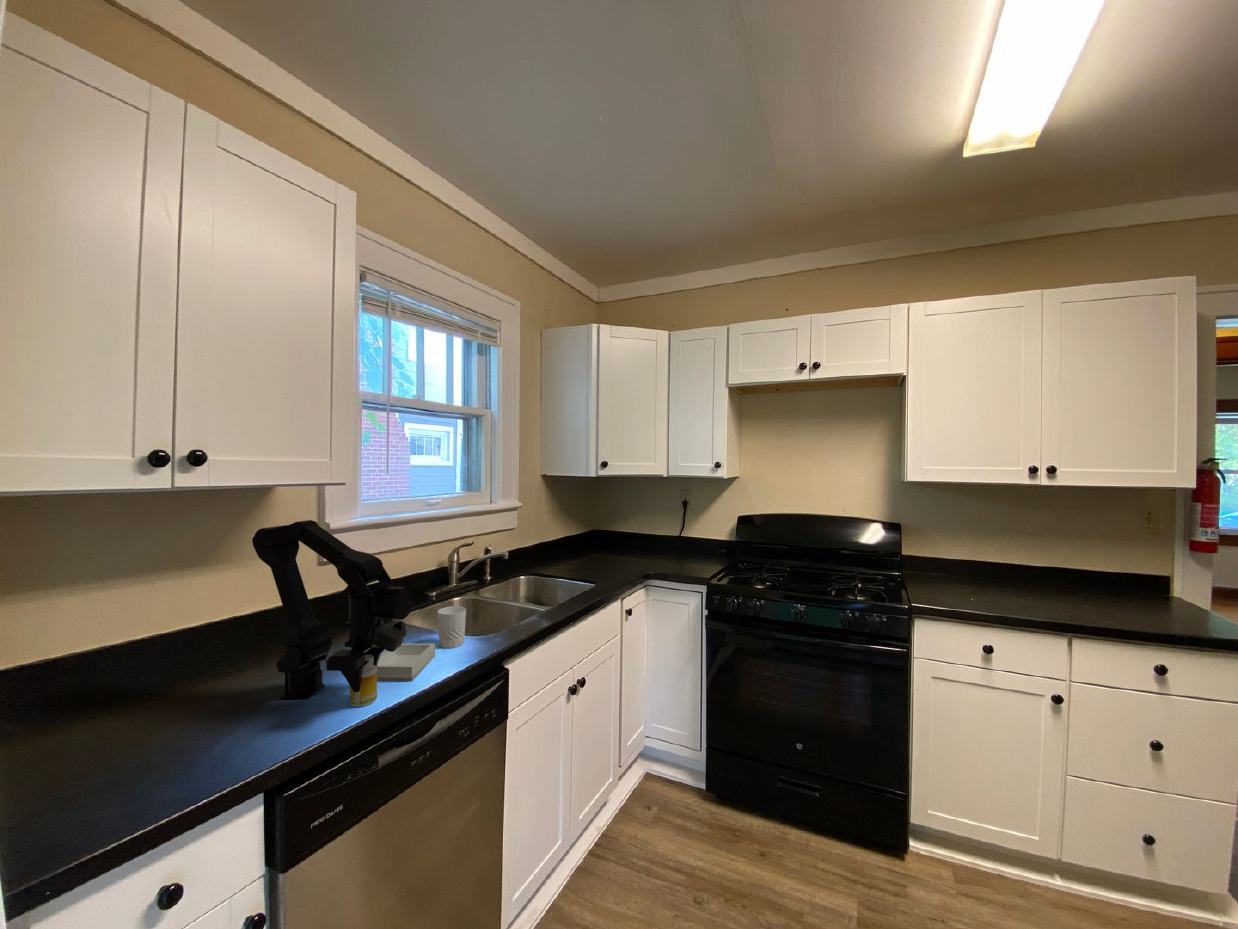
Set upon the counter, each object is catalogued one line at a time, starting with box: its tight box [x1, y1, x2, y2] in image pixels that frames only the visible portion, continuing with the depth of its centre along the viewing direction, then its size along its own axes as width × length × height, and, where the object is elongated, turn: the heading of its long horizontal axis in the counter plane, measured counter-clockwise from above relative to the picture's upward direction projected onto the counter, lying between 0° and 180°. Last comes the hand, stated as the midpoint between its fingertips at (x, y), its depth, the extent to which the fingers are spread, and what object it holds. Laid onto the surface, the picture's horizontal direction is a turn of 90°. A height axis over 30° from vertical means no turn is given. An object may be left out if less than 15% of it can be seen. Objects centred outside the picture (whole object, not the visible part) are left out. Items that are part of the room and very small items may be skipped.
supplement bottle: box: [349, 655, 378, 708], centre depth 108 cm, size 5×5×10 cm
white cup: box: [437, 605, 467, 649], centre depth 142 cm, size 8×8×10 cm
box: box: [377, 643, 436, 682], centre depth 125 cm, size 11×15×4 cm
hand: (363, 685), depth 108 cm, fingers closed on supplement bottle, 5 cm apart
